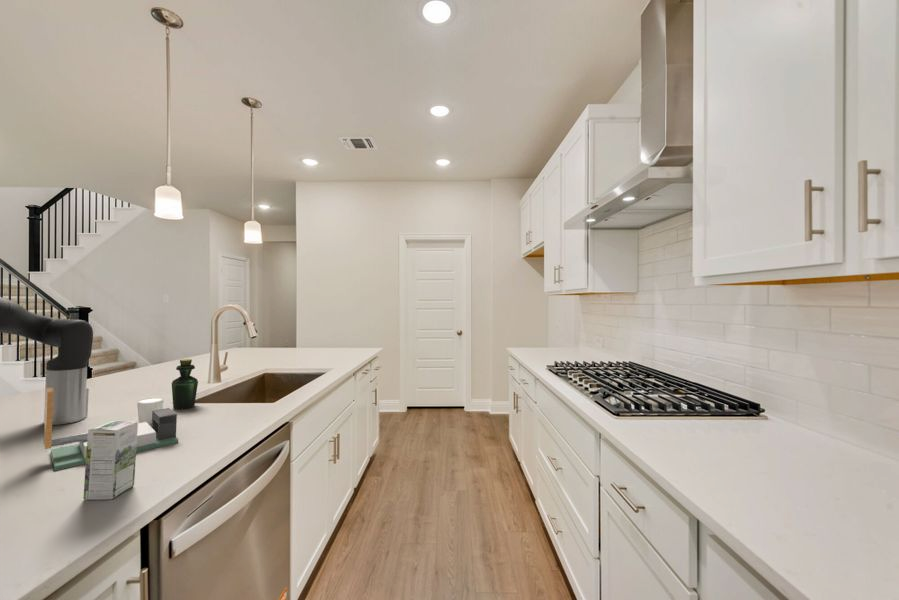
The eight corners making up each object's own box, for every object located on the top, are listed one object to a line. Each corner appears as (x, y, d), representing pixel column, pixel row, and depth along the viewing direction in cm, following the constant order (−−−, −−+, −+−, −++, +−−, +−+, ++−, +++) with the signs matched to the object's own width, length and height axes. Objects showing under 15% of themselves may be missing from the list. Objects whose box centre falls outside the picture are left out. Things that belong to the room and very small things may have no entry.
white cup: (131, 422, 118) (132, 401, 118) (155, 416, 124) (156, 396, 124) (144, 425, 115) (145, 404, 115) (167, 419, 122) (168, 399, 122)
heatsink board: (54, 470, 85) (55, 438, 85) (51, 453, 94) (52, 424, 94) (178, 442, 103) (179, 416, 103) (165, 430, 112) (166, 406, 112)
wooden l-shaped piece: (44, 449, 86) (47, 392, 86) (43, 442, 90) (46, 388, 90) (115, 435, 96) (117, 384, 96) (111, 430, 100) (113, 380, 100)
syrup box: (107, 486, 79) (109, 420, 79) (135, 486, 79) (138, 420, 79) (82, 500, 73) (85, 429, 73) (113, 500, 73) (116, 429, 74)
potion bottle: (196, 408, 134) (198, 360, 135) (169, 411, 130) (171, 362, 130) (197, 403, 141) (199, 357, 141) (171, 405, 137) (173, 358, 137)
